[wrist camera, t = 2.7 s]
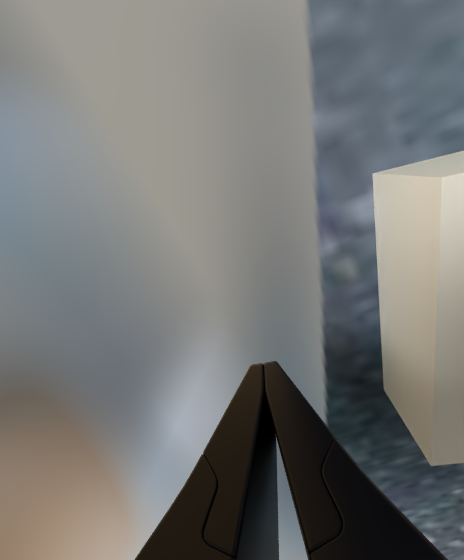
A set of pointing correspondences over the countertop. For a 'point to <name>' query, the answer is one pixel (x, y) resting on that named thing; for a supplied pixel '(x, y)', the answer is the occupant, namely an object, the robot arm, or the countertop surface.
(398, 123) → the countertop surface
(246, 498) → the robot arm
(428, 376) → the book
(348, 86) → the countertop surface
